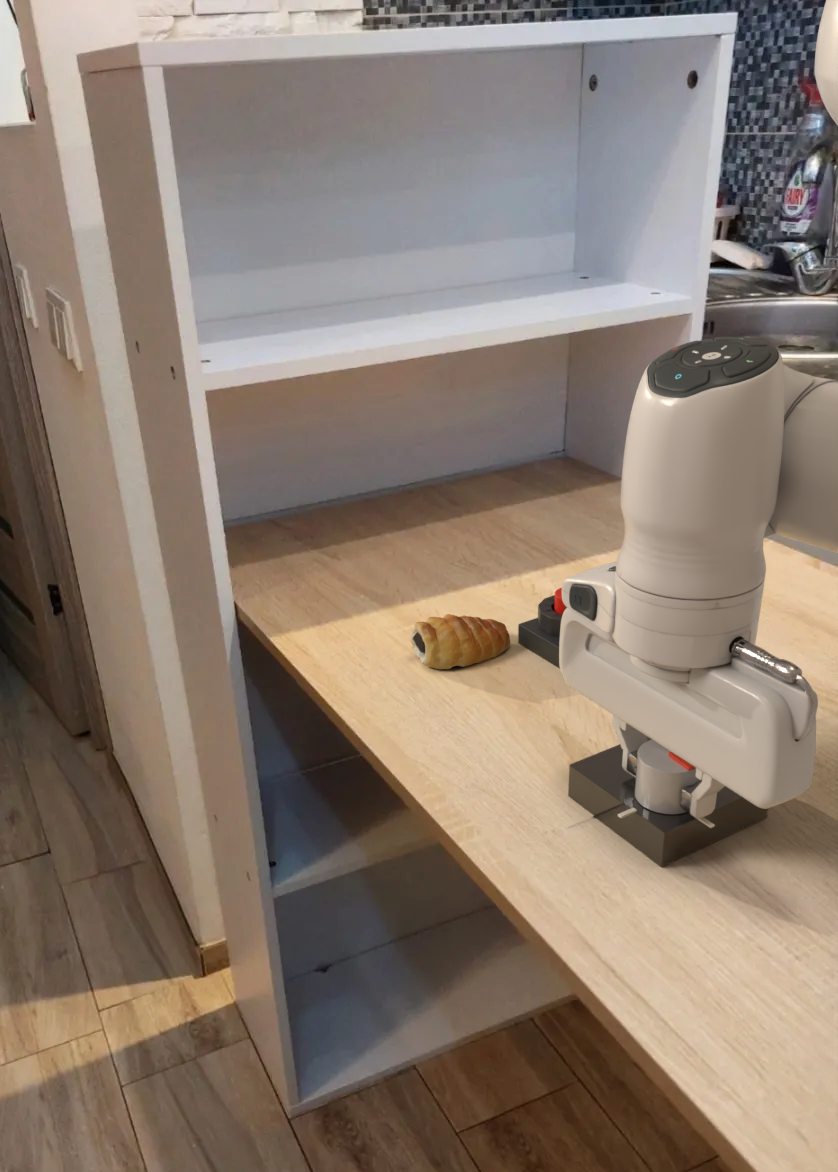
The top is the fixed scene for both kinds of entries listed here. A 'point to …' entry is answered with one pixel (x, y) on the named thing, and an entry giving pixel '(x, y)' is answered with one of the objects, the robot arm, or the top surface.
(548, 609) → the box
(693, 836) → the hob console
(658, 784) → the hob knob
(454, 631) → the pastry
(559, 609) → the button
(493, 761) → the top surface
